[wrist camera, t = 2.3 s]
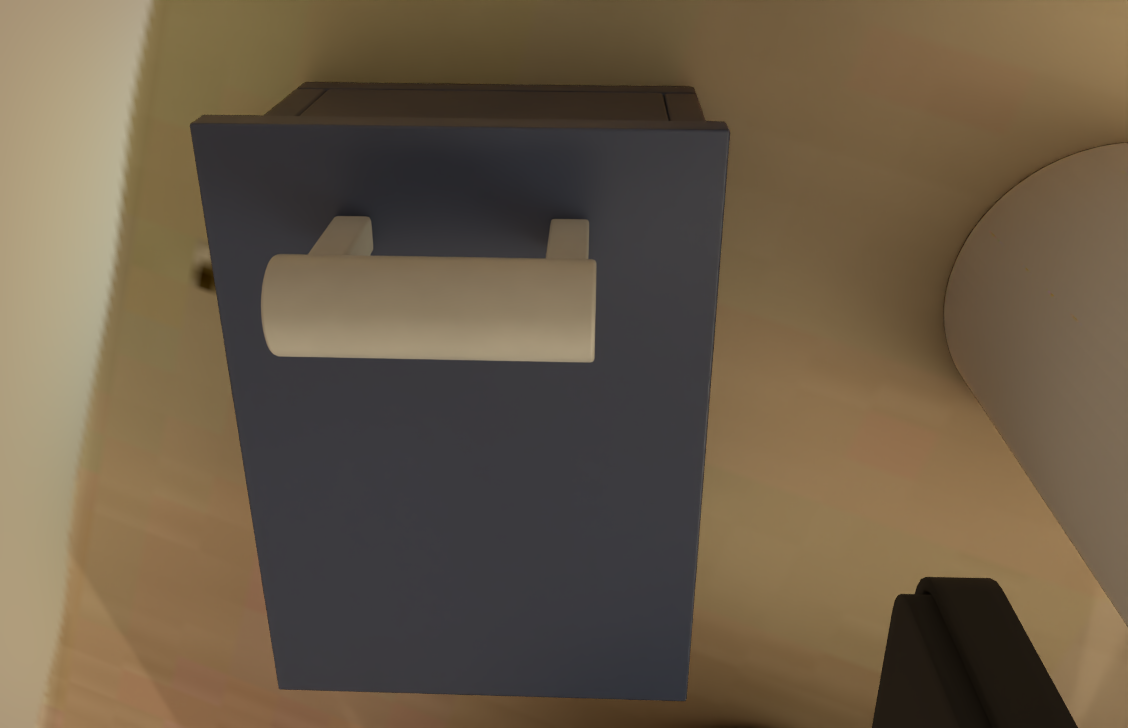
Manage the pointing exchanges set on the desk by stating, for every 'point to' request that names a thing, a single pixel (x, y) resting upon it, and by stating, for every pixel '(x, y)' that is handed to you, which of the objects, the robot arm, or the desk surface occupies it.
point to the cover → (471, 393)
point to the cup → (1056, 344)
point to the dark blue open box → (491, 101)
